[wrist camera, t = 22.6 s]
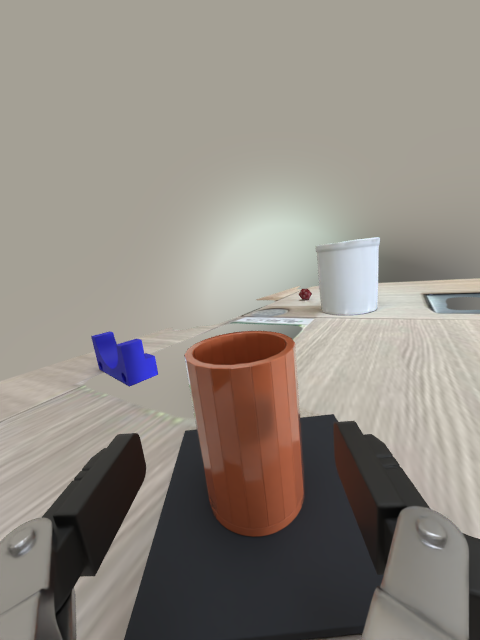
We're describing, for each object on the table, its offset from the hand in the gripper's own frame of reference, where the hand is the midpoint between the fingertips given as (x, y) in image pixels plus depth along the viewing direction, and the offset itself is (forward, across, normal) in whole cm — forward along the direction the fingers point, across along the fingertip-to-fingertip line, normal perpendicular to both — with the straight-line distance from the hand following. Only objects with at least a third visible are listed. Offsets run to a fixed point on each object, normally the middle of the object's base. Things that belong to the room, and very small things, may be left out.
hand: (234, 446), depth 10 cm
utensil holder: (+60, -25, +8) cm, 65 cm away
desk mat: (+5, -1, +8) cm, 10 cm away
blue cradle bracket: (+29, +21, +8) cm, 36 cm away
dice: (+82, -18, +8) cm, 84 cm away
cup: (+5, 0, +8) cm, 9 cm away
